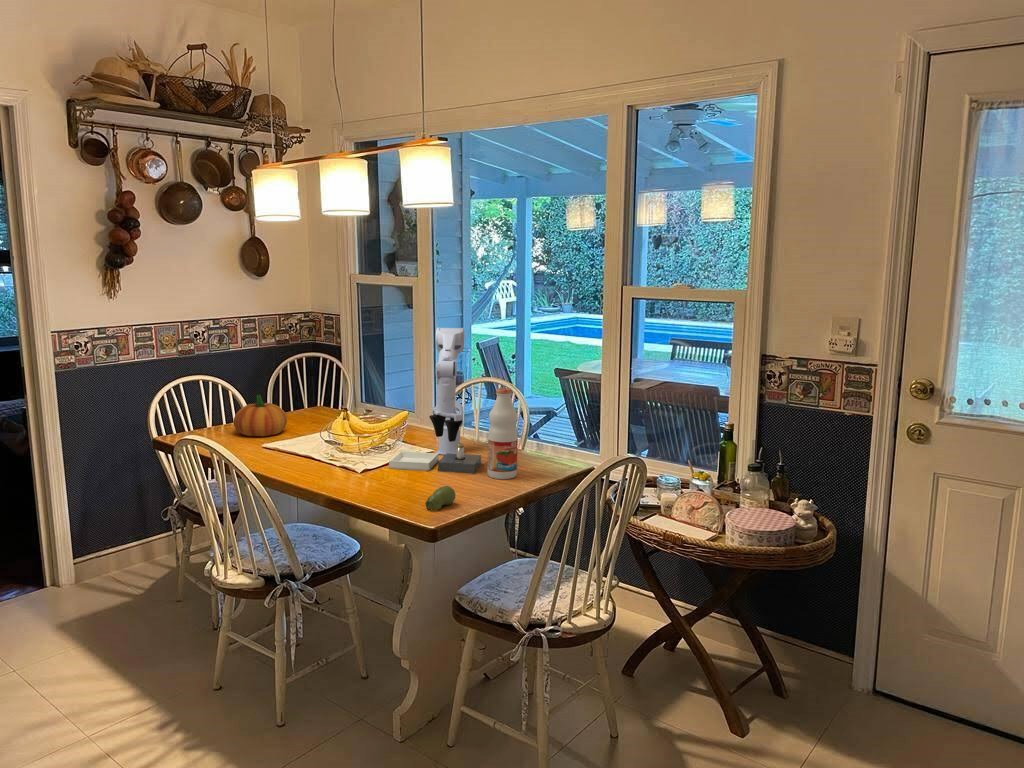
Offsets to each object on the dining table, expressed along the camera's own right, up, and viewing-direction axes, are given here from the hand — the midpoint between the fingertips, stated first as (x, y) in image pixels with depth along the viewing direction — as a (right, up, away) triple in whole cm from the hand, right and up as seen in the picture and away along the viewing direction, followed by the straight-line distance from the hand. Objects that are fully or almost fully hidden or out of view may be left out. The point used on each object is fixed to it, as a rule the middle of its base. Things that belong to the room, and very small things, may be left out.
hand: (445, 438), depth 253 cm
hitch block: (+4, -10, +4) cm, 11 cm away
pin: (+4, -10, +4) cm, 11 cm away
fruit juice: (+18, -12, -5) cm, 22 cm away
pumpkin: (-74, -1, +45) cm, 87 cm away
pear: (+2, -17, -36) cm, 40 cm away
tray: (-11, -9, +6) cm, 15 cm away
